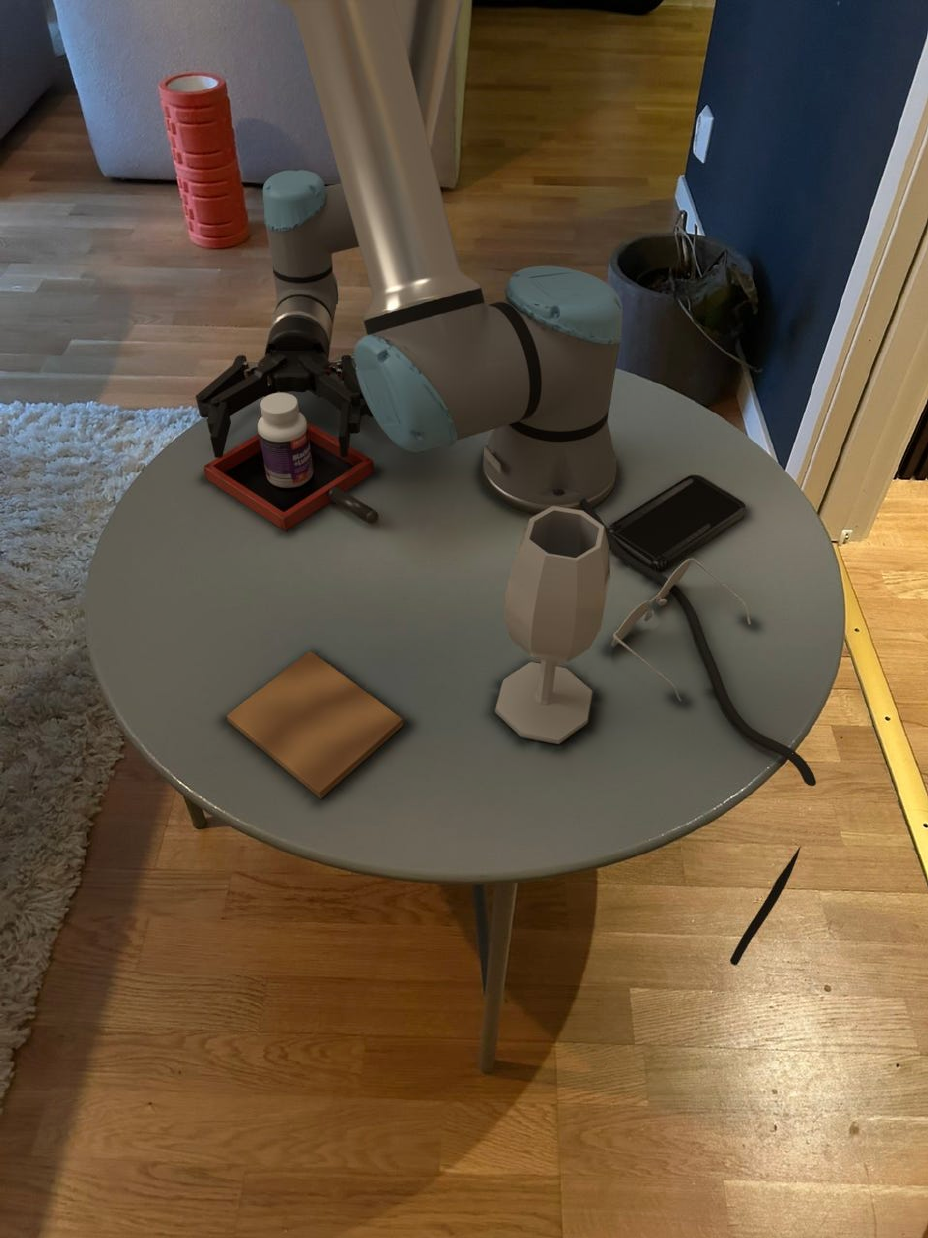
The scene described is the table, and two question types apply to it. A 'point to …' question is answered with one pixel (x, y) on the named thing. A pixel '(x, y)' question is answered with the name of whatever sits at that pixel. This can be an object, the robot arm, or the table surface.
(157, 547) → the table surface
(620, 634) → the sunglasses
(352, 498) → the pan
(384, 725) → the wooden board
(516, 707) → the wineglass
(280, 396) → the pill bottle
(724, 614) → the table surface
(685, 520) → the phone
